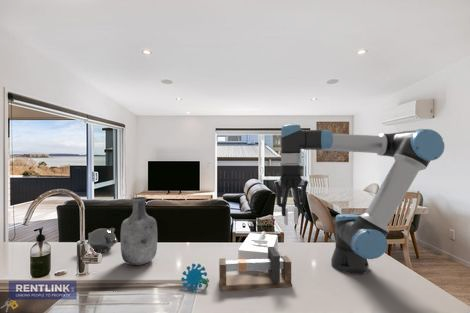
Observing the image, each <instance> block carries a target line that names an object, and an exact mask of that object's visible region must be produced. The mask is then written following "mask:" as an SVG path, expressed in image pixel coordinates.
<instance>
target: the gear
mask: <svg viewBox="0 0 470 313" xmlns="http://www.w3.org/2000/svg"><path fill="white" fill-rule="evenodd" d="M191 266H192V267H190V266H189V265H188V266H186V270H187V271H186V270H183V272H182V275H183V276H182V277H181V278H180V281H181V282H182V287H183V288H186V290H187V291H189V292H190V291H191V289H192V291H194V292H195V291H197V287H198V288H199V289H201V288H202V287H203V285H205V286H209V283H210V278H204V277H207V276H208V273H207V271H206V268H205V266H202V265H201V264H200V263H197V264H195V263H192V264H191ZM202 271H203V272H202ZM204 271H205V272H204ZM184 276H186V278H185V277H184ZM203 276H204V277H203ZM202 284H203V285H202ZM188 285H189V286H188ZM197 285H198V286H197Z"/></svg>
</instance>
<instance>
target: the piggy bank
mask: <svg viewBox="0 0 470 313" xmlns="http://www.w3.org/2000/svg"><path fill="white" fill-rule="evenodd" d="M115 231H116V228H114V227H110V228H97V229H95V230H92V232H88V234H87V235H88V244H89V247H90V249H92V248H93V249H94V251H95V252H97V253H98V252H99V251H101V253H102V254H106V253H107V250H108V251H109V250H111V249H112V247H114V246H115V245H116V244H117V243H118V242H119V241H118V238H117V237H116V234H115V233H114V232H115ZM93 249H92V250H93Z"/></svg>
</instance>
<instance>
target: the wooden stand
mask: <svg viewBox="0 0 470 313" xmlns="http://www.w3.org/2000/svg"><path fill="white" fill-rule="evenodd" d="M280 258H282V259H283V260H284V269H280V283H273V281H272V278H271V276H270V274H269V272H266V273H252V274H251V273H250V274H249V273H248V274H231V275H230V274H227V272H226V261H227V259H226V257H225V258H224V257H223V258H219V259H218V261H219V262H218V263H219V264H218V265H219V266H218V267H219V268H218V269H219V271H218V273H219V274H218V275H219V276H218V277H219V278H218V279H219V280H218V282H219V288H220V292H225V291H227V290H230V291H245V290H246V291H247V290H248V291H249V290H263V289H264V290H266V289H269V290H270V289H283V288H285V289H286V288H293V283H292V261H291V260H290V258H289V256H288V255H280Z"/></svg>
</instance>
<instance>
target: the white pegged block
mask: <svg viewBox="0 0 470 313" xmlns="http://www.w3.org/2000/svg"><path fill="white" fill-rule="evenodd" d="M278 239H279V237H278V234H268V233H267V232H266V231H261V233H254V232H249V233H248V235H247V236H246V238H245V240H244V241H243V242H242V244H241V245H240V247H239V248H238V251H237V252H238V256H237V257H238V258H237V260H238V259H245V260H251V259H268V247H274V248H275V250H276V251H277V253H279V252H278V251H279V250H278V248H279V247H278V242H279V241H278ZM251 271H253V272H260V273H261V272H263V273H269V272H268V270H251Z"/></svg>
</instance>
